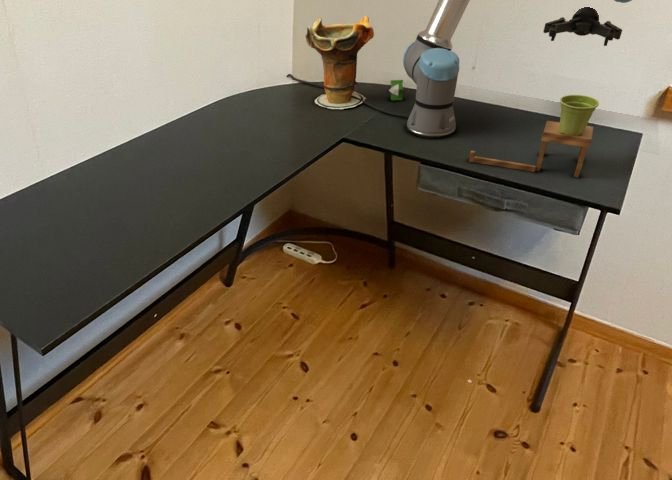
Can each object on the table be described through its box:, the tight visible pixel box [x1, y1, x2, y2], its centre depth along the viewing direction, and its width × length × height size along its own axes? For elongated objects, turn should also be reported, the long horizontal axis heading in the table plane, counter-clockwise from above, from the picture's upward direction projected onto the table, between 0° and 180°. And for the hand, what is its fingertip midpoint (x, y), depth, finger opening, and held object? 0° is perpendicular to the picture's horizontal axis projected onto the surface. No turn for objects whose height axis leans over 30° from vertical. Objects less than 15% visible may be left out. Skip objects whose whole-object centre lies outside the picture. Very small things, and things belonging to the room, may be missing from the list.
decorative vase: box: [305, 15, 375, 110], centre depth 207 cm, size 21×23×28 cm
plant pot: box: [559, 94, 600, 136], centre depth 161 cm, size 9×9×9 cm
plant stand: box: [468, 120, 594, 178], centre depth 169 cm, size 30×13×11 cm, turn 64°
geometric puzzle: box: [386, 79, 408, 101], centre depth 213 cm, size 7×7×8 cm
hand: (579, 38), depth 166 cm, fingers open, 13 cm apart
